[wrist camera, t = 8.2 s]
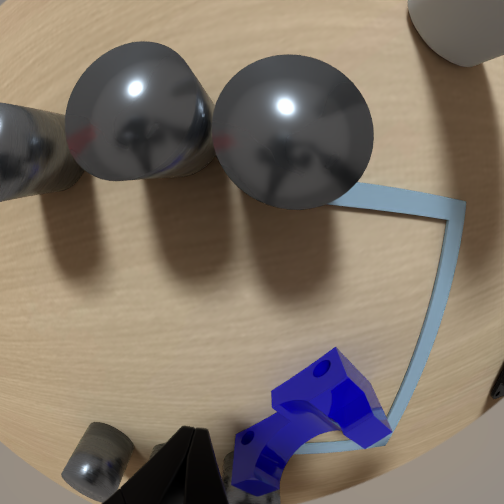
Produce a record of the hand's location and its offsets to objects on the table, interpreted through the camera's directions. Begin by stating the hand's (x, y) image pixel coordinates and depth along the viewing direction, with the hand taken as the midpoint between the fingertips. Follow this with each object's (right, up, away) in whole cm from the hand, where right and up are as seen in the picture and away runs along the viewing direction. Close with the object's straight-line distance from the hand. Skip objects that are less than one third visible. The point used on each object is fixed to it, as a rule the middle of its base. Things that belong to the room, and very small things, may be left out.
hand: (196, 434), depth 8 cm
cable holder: (+4, -2, +6) cm, 8 cm away
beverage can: (+11, +17, +1) cm, 20 cm away
